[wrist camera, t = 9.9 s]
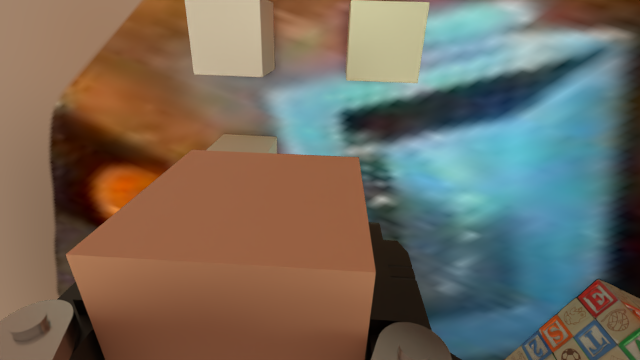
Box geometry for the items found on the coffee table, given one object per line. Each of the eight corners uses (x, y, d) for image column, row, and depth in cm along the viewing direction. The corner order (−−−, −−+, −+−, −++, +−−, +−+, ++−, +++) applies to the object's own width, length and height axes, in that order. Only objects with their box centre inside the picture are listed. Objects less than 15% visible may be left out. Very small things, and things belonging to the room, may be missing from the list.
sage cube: (413, 6, 25) (429, 2, 21) (404, 73, 27) (417, 82, 23) (349, 5, 26) (351, 0, 21) (345, 71, 28) (346, 80, 23)
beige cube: (273, 2, 26) (259, -3, 21) (275, 69, 28) (262, 77, 23) (211, 0, 26) (184, -6, 21) (217, 66, 28) (194, 74, 24)
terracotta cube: (358, 157, 10) (375, 272, 5) (347, 287, 12) (352, 449, 7) (191, 149, 10) (66, 254, 5) (210, 278, 12) (132, 432, 7)
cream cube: (277, 136, 30) (266, 155, 26) (277, 184, 33) (267, 210, 28) (224, 133, 31) (204, 152, 26) (228, 181, 33) (210, 206, 28)
